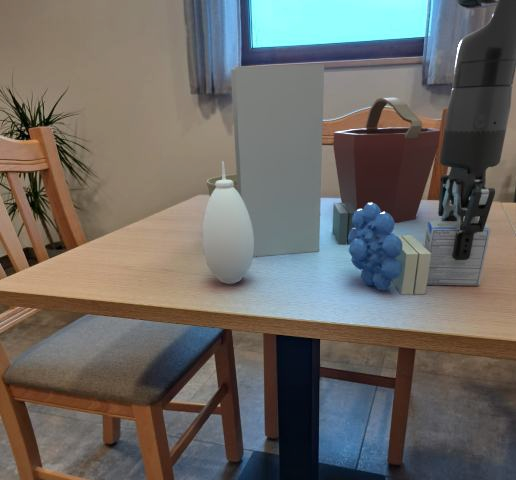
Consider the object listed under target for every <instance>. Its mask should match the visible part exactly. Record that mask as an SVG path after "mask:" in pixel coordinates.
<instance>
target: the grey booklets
mask: <svg viewBox="0 0 516 480" xmlns="http://www.w3.org/2000/svg"><path fill="white" fill-rule="evenodd" d="M332 207H333V208H332V209H333V210H332V234H333V236H334V238H335V240H336V242H337V244H338V245H350V243H349V241H348V235H349V232H350V230H351V229H352V228H353V227H354V225H353V224H352V217H353V215H354V213H355V212H356V210H355V209H354V207H353V206H352V205H351V203H341V202H333V206H332Z"/></svg>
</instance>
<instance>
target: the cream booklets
mask: <svg viewBox="0 0 516 480" xmlns="http://www.w3.org/2000/svg"><path fill="white" fill-rule="evenodd" d="M396 235H397V236H398V237H399V238H400V239H401V241H402V245H403V246H402V251H401V253H400V255H399V256H397V257H395V258H396V259H397V260H398V261H399V262H400V264H401V273H400V275H399V277H397V278H396V279H393V280H392V283H393V284H394V287H396V288H397V291H398V292H399V293H400V294H401V296H405V295H426V294H427V287H428V285H427V280H428V273H429V266H430V259H431V253H430V252H429V251H428V250H427V249H426V248H425V245H423V244H422V243H421V242H419V240H418V239H416V238H415V237H414V235H412V234H401V235H400V234H396Z"/></svg>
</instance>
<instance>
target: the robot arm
mask: <svg viewBox="0 0 516 480" xmlns="http://www.w3.org/2000/svg"><path fill="white" fill-rule="evenodd" d="M455 1H456V3H457V4H458V5H459V6H460V7H461V8H463V9H466V10H479V9H480V10H481V9H485V8H486V9H487V8H491V7H495V10H494V11H493V13H492V15H491V17H490V19H489V21H488V22H487V23H486V24H485V25H484V26H483V27H481V28H479V29H477V30H475V31H472V32H470V33H469V34H467V35H465V36H464V37H463V38H462V39H461V40H460V42H459V44H458V47H457V52H456V58H455V65H454V69H453V70H454V71H453V78H452V85H451V88H452V89H451V91H450V96H449V100H448V104H447V107H446V113H445V121H444V127H443V128H444V129H443V133H442V134H443V136H442V143H441V150H440V157H439V163H440V165H441V166H443V167H447V168H450V170H449V173H448V174H441V176H440V178H439V198H438V212H437V214H438V217H441V220H440V221H457V229H456V231H457V233H456V237H455V243H454V249H453V255H452V257H453V258H454V259H455V260H467V259H469V257H470V253H471V247H472V242H473V237H474V234H475V233H477V232H483V230H484V227H485V224H486V225H487V221H488V220H487V219H488V218H489V214H490V210H491V208H492V204H493V202H494V200H495V195H496V189H495V188H494V187H489V188H488V187H486V184H487V183H486V181H487V179H486V177H487V176H486V175H487V170H488V168H493V167H496V166H499V164H500V163H501V159H502V153H503V147H504V143H505V138H506V135H507V128H508V121H509V117H510V112H511V106H512V96H513V95H512V94H513V85H514V81H515V77H516V0H455Z"/></svg>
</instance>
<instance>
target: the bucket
mask: <svg viewBox="0 0 516 480" xmlns="http://www.w3.org/2000/svg"><path fill="white" fill-rule="evenodd" d="M387 104H388V105H389V106H390V107H391V108H393V110H394V111H395V113H396V114H397V116H399V118H401V119H402V121H405V122H408V123H410V125H409V127H378V125H379V121H380V120H381V115H382V112H383V110H384V108H385V107H386V106H387ZM440 136H441V130H440V129H437V128H434V127H423V122H422V119H420V118H419V117H418V116H417V115H416V113H414V112H413V110H411V108H410V107H409V105H408V104H407V103H405V102H404V101H402V100H401V99H400V98H398V97H382V98H381V97H380V98H377V99H376V100H375V101H374V102H373V104H372V105H371V107H370V109H369V112H368V114H367V118H366V123H365V128H353V129H352V128H351V129H346V130H340V131H334V132H333V146H332V147H333V153H334V161H335V168H336V174H337V181H338V189H339V195H340V196H339V197H340V203H351V205H352V206H353V207H354V209H355V210H356V211H357V210H358V209H364V207H365V206H366V205H367V204H368V203H374V204H377V206H378V207H379V208H380V210H381V212H386V213H388V214H390V215H391V217H392V218H393V220H394V223H395V224H396V223H397V224H398V223H402V222H406V221H413V220H416V218H417V215H418V211H419V208H420V206H421V202H422V199H423V197H424V196H423V195H424V192H425V190H426V186H427V183H428V180H429V177H430V173H431V171H432V168H433V165H434V162H435V159H436V155H437V152H438V149H439V146H440V139H441V137H440Z"/></svg>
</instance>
